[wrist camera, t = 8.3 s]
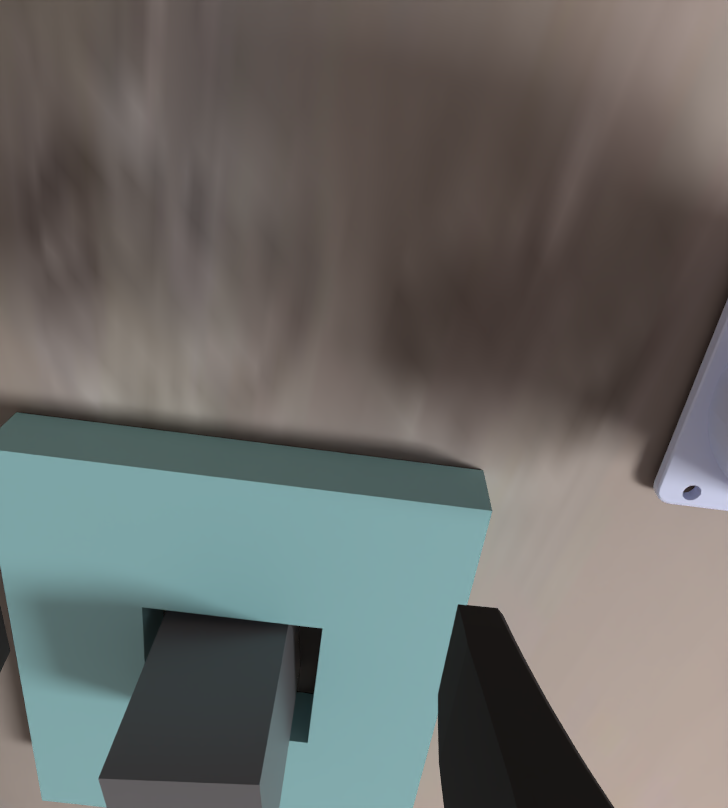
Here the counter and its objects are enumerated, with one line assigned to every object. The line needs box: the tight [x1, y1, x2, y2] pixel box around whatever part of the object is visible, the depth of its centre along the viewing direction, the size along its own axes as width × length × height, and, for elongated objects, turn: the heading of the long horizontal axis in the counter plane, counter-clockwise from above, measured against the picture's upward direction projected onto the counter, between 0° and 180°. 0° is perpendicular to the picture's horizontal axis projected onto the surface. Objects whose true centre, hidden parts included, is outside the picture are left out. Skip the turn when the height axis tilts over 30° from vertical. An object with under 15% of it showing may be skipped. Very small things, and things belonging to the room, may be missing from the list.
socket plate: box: [0, 412, 492, 808], centre depth 23 cm, size 14×16×2 cm
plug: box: [98, 610, 301, 808], centre depth 20 cm, size 4×4×7 cm
